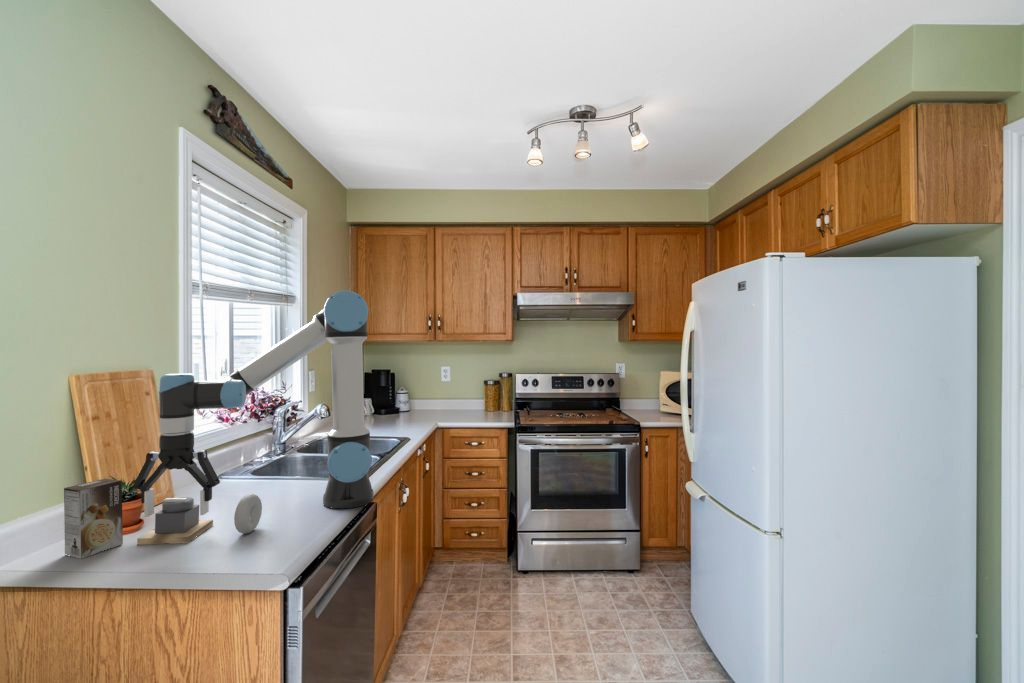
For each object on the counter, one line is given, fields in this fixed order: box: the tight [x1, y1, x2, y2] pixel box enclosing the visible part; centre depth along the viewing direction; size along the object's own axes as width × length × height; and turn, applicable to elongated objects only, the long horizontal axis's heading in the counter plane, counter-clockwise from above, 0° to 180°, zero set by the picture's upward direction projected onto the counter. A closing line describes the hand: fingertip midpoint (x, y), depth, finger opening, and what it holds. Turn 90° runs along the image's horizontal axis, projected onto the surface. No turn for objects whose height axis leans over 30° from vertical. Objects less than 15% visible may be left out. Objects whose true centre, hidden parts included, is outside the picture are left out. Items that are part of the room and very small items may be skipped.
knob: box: [154, 496, 200, 533], centre depth 129 cm, size 7×7×8 cm
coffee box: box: [63, 478, 124, 559], centre depth 119 cm, size 9×6×16 cm
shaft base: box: [136, 519, 214, 546], centre depth 129 cm, size 12×12×6 cm
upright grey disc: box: [233, 493, 263, 535], centre depth 130 cm, size 10×4×10 cm, turn 0°
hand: (177, 514), depth 129 cm, fingers open, 13 cm apart
